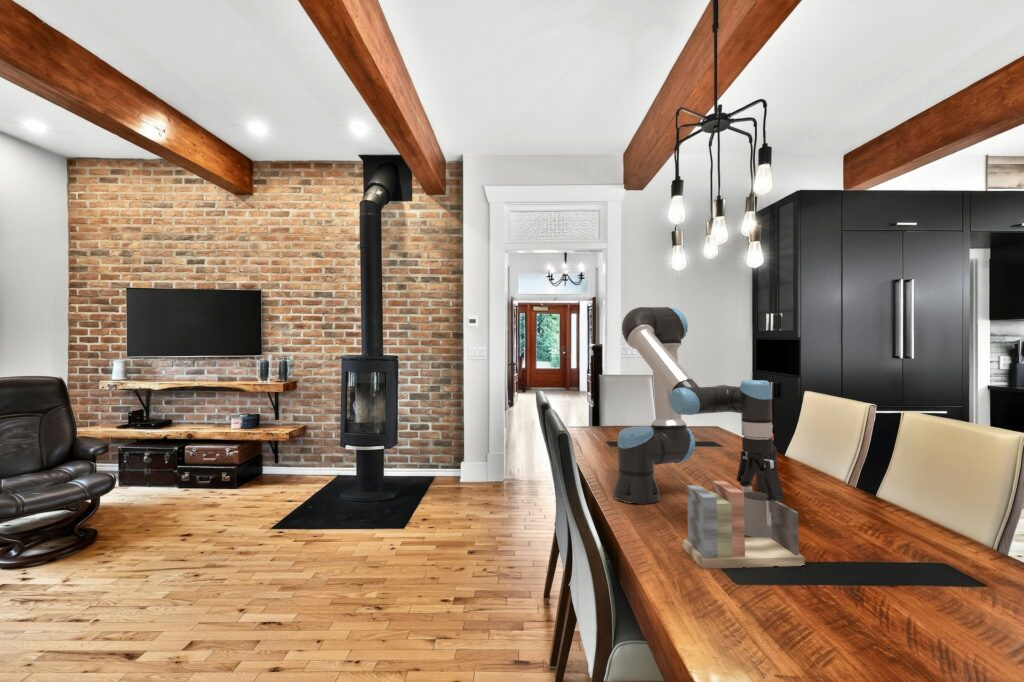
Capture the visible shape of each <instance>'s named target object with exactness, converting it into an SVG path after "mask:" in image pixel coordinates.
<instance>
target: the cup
mask: <svg viewBox="0 0 1024 682" xmlns="http://www.w3.org/2000/svg"><path fill="white" fill-rule="evenodd" d="M766 498H768V496H767V493H763V492H759V491H752V492H744V524H745V536H747V537H749V538H755V537H771V526H768V525H767V505H766Z"/></svg>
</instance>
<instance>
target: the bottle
mask: <svg viewBox="0 0 1024 682" xmlns="http://www.w3.org/2000/svg"><path fill="white" fill-rule="evenodd" d="M770 438H771V439H772V440H773V441H774V439H775V438H774V433H773V432H772V437H770ZM768 457H769V460H776V463H777V464H778V449H777V447H776V445H774V444H773V452H772V453H769V454H768ZM755 490H756V491H757V490H758V491H757V492H759V491H760V492H761V493H763V492H764V493H766V491H765V488H764V485H763V483H762V480H761V477H760V476H758V474H757V472H756V473H755ZM766 494H767V493H766Z"/></svg>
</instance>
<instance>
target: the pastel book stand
mask: <svg viewBox="0 0 1024 682" xmlns="http://www.w3.org/2000/svg"><path fill="white" fill-rule="evenodd" d="M686 495H687V502H686V503H687V505H686V506H687V507H686V508H687V509H686V510H687V539H682V549H683V550H684V551H685V552H687V553H688V555H689V556H690V557H691V558H692V559H693V560H694V562H695V563H697V565H698V566H699V567H700V568H701V569H702V570H709V569H735V568H736V569H741V568H742V569H743V567H745V568H773V567H774V566H778V567H800V566H802V565H805V556H803V554H801V553H800V550H799V549H800V548H799V512H798V511H796V510H795V509H793V508H791V507H789V506H787V505H785V504H784V503H782V502H780V501H779V502H778V501H776V500H773V499H771V537H755V538H753V537H745V536H746V535H745V524H744V492H742V489H739V488H737V487H736V486H734V485H732V484H730V483H729V482H727V481H726V480H712V489H711V490H707V489H705V488H704V487H702V486H701V485H700V484H699V485H698V484H697V485H696V484H694V485H692V484H691V485H688V484H687V485H686ZM774 568H775V567H774Z"/></svg>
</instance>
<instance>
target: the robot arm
mask: <svg viewBox="0 0 1024 682" xmlns="http://www.w3.org/2000/svg"><path fill="white" fill-rule="evenodd" d="M688 327H689V326H688V321H687V318H686V316H685V314H684V313H683V312H682V311H681V310H680V309H678V308H677V307H669V306H663V307H662V306H658V307H657V306H639V307H635V308H633V309H631V310H629V312H627V313H626V314H625V317H623V320H622V323H621V333H622V336H623V338H624V340H625V342H626V343H627V344H628V346H629V347H630V348H632V349H635V350H636V351H637V352H638V354H639V355H640V356H641V357H642V359H643V360H644V362H645V363H646V364H647V365H648V366H649V368H650V369H651V370H652V377H653V378H652V379H653V396H654V412H655V413H654V415H655V419H654V420H653V421H652V422H651V426H649V425H639V426H637V425H633V426H629V427H625V428H622V429H621V430H620V431H619V432H618V435H617V453H618V455H617V460H618V466H617V467H618V475H617V478H616V480H615V484H614V487H613V497H614V496H615V497H616V498H618V499H620V500H623V501H626V502H631V503H639V504H638V505H647V504H646V503H652V504H654V503H653V502H656V501H658V500H659V499H660V500H661V495H660V490H659V486H658V483H657V480H656V478H655V466H657V465H664V464H665V465H666V464H680V463H681V462H682V463H683V462H686V461H688V460H690V458H691V457H692V456H693V454H694V453H695V449H696V440H695V439H696V438H695V435H693V432H692V431H691V429H690V428H688V427H687V423H686V422H685V420H683V419H682V416H683V415H684V416H686V415H687V416H694V415H702V414H715V413H737V414H741V420H740V421H741V435H742V436H743V437H742V438H741V443H742V444H741V445H742V446H741V447H742V450H741V451H740V460H739V461H740V462H739V466H738V470H737V475H736V482H739V485H740V486H741V491H742V492H753V483H752V482H753V479H754V477H755V476H756V472H757V474H758V476H760V477H761V480H762V483H763V485H764V488H765V491H766V494H767V496H768V498H766V505H767V525H768V526H771V499H773V500H776V501H778V502H780V501H783V500H785V495H784V492H783V488H782V484H781V479H780V475H779V473H778V462H777V463H776V460H769V457H768V454H769V453H772V452H773V445H774V440H772V439H771V438H770V437H772V433H773V428H774V425H773V413H772V412H773V411H772V410H773V408H772V407H773V404H772V402H773V401H772V400H773V395H772V394H773V393H772V386H771V383H770V382H769V381H768V380H763V379H762V380H761V379H759V380H755V379H750V380H748V379H747V380H746V379H744V380H741V382H740V386H736V385H735V386H734V385H727V384H717V385H713V386H698V384H697V382H696V381H694V379H693V378H692V377H691V376H690V374H688V372H687V371H686V370H685V369H684V368H683V366H682V365H681V364H680V362H679V361H678V359H679V358H678V348H679V347H681V346H682V340H683V339H684V338H685V337H686V336H687V333H688ZM660 500H659V501H660ZM659 501H658V502H659ZM656 503H657V502H656Z"/></svg>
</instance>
